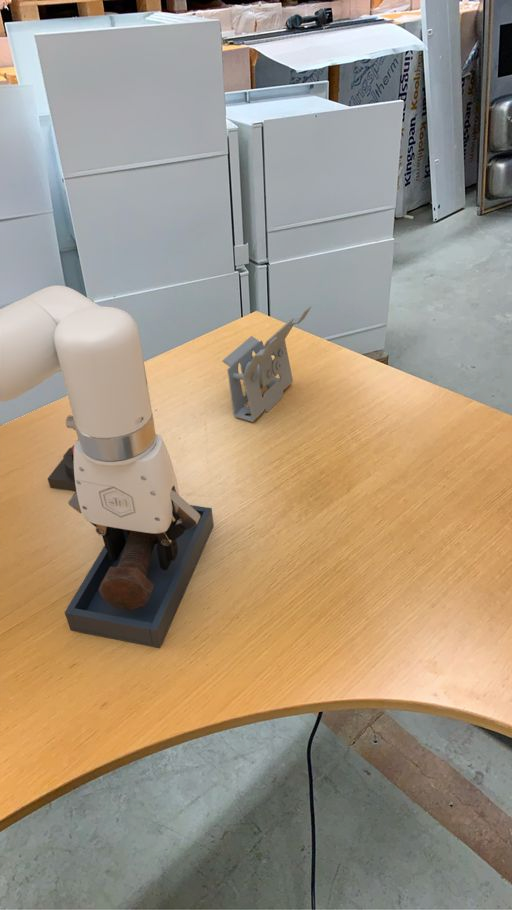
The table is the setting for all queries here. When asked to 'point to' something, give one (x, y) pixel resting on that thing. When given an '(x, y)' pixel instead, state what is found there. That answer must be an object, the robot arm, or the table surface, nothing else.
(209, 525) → the tray
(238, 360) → the bracket
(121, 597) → the bolt
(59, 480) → the station
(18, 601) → the table surface
